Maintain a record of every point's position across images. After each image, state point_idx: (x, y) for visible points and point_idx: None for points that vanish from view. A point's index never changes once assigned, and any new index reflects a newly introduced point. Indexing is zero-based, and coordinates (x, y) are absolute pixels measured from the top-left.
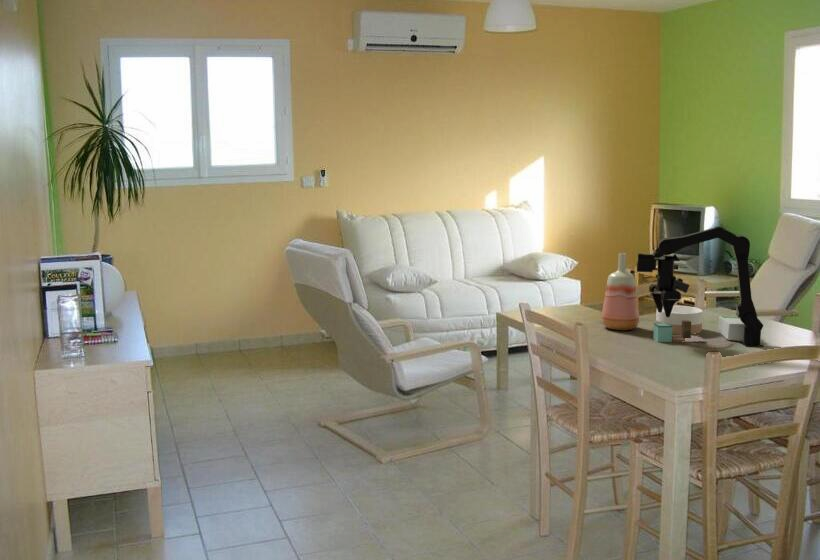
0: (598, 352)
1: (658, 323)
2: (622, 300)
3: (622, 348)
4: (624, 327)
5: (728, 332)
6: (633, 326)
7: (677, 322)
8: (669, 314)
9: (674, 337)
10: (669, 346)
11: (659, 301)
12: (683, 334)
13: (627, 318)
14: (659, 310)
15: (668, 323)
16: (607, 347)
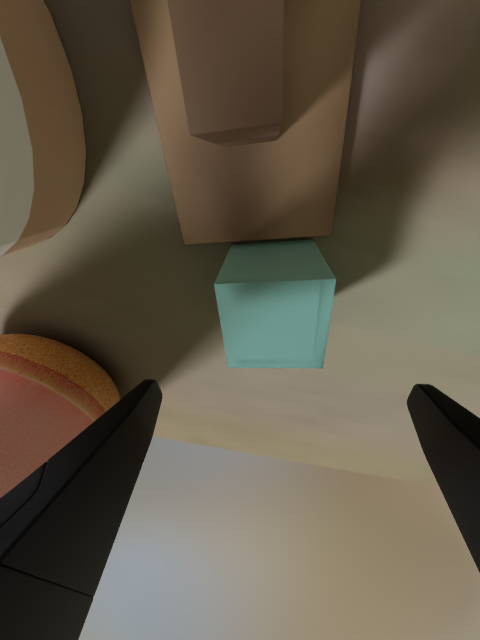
0: (415, 476)
1: (236, 347)
2: None
3: (387, 430)
4: (116, 389)
5: None
6: (88, 362)
7: (8, 132)
8: (461, 415)
9: (247, 206)
10: (417, 279)
11: (85, 526)
12: (271, 138)
13: (90, 416)
14: (154, 408)
15: (232, 284)
16: (361, 452)
